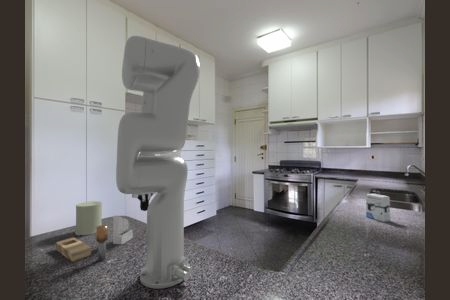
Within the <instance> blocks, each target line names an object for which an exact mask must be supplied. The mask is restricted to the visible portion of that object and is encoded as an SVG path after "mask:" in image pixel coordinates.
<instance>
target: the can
mask: <svg viewBox="0 0 450 300" xmlns="http://www.w3.org/2000/svg"><path fill="white" fill-rule="evenodd" d="M102 204H103V201H100V200H99V201H98V200H95V201H93V200H91V201H84V202H79V203H77V204H75V232H74V234H75V235H76V236H80V235H83V236H90V235H94V234H96V227H98V226H100V225H102V211H103V210H102V207H103V206H102Z"/></svg>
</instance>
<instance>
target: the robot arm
mask: <svg viewBox="0 0 450 300" xmlns="http://www.w3.org/2000/svg"><path fill="white" fill-rule="evenodd" d="M123 52H124V53H123V60H122V67H121V68H122V69H121V78H122V79H121V80H122V84H123V86H124V88H126V89H127V90H129V91H135V92H142V99H141V100H142V102H141V107H140V111H130V112H125V114H123V115H122V117H121V118H120V120H119V124H118V128H117V141H116V142H117V147H116V167H115V169H116V170H115V171H116V173H115V174H116V175H115V181H116V187H117V190H118V191H119V193H121V194H124V195H131V198H132V199H138V201H140V202H139V208H140V211H143V212H146V265H145V266H144V267H143V268H142V269H141V271H140V273H139V282H140V283H141V284H142V285H143V286H145V287H146V288H149V289H158V290H159V289H161V290H162V289H166V288H171V287H174V286H176V285H178V284H180V283H181V282H188V281H189V279H190V278H191V273H192V272H193V267H192V266H190V264H189V262H188V261H187V257H186V256H184V253H185V252H184V247H185V245H184V243H185V242H184V240H185V237H184V236H185V233H184V231H185V228H184V226H185V225H184V224H185V219H184V218H185V192H186V185H187V179H188V174H189V173H188V165H187V162H186V161H185V160H184V159H183V158H181V157H180V156H177V155H176V156H175V155H168V154H169V153H175V152H179V151H181V150H182V149H183V148H184V147H185V144H186V139H187V133H188V122H189V115H190V104H191V100H192V96H193V94H194V91H195V89H196V86H197V85H198V84H197V83H198V81H199V77H200V71H201V67H200V61H199V60H200V59H199V58H198V55H196V54H195V53H194V52H192V51H190V50H188V49H185V48H182V47H179V46H176V45H173V44H168V43H165V42H162V41H158V40H155V39H150V38H147V37H143V36H139V35H131V36H130V37H128V39H127V40H126V42H125V46H124V51H123ZM152 197H153V198H152ZM151 198H152V200H151Z"/></svg>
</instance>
